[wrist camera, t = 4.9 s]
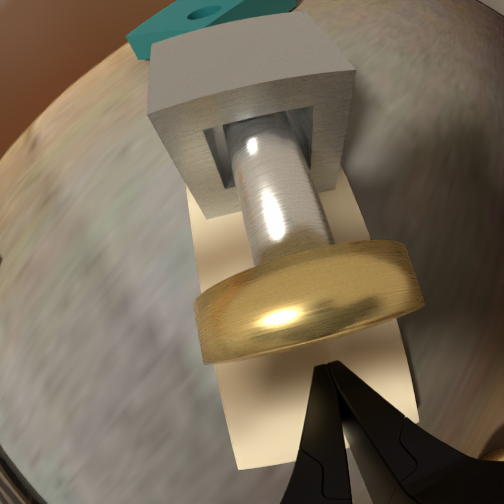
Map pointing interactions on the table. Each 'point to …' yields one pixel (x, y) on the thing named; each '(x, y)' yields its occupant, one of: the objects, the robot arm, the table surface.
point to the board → (296, 361)
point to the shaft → (295, 260)
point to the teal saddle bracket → (198, 19)
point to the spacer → (495, 455)
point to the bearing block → (248, 98)
